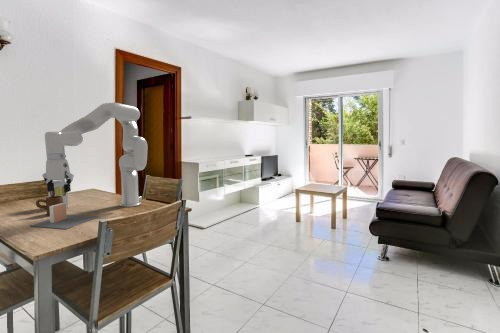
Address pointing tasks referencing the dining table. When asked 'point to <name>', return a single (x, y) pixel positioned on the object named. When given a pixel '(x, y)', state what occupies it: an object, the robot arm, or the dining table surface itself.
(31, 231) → the dining table surface
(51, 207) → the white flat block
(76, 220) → the mat
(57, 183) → the supplement box
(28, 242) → the dining table surface
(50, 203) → the mug
